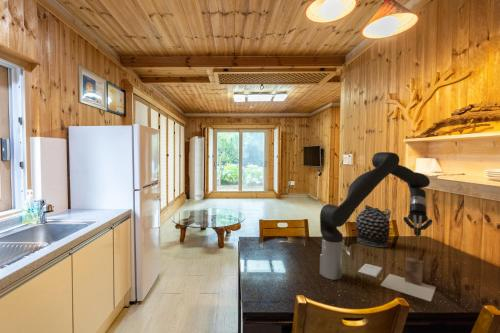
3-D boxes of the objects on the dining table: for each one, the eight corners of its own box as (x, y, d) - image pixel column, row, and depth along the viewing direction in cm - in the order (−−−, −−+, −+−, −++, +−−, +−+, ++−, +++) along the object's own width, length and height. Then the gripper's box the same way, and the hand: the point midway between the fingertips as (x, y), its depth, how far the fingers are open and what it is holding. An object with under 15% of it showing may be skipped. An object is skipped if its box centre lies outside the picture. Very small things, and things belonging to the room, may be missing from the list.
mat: (380, 286, 110) (380, 285, 110) (389, 274, 121) (389, 273, 121) (430, 303, 98) (430, 301, 98) (435, 288, 109) (436, 286, 109)
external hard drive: (357, 274, 122) (365, 266, 131) (376, 280, 117) (382, 270, 126) (357, 271, 122) (365, 263, 131) (376, 276, 117) (382, 267, 126)
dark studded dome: (391, 243, 164) (392, 205, 164) (388, 250, 152) (390, 209, 151) (357, 238, 176) (358, 202, 175) (352, 244, 164) (353, 205, 163)
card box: (404, 281, 113) (405, 259, 113) (406, 278, 116) (406, 257, 115) (420, 286, 109) (421, 263, 109) (421, 283, 112) (422, 260, 111)
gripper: (403, 201, 137) (401, 230, 127) (433, 203, 129) (434, 234, 120) (403, 209, 141) (402, 237, 132) (432, 211, 134) (433, 241, 124)
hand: (417, 235), depth 126 cm, fingers closed
